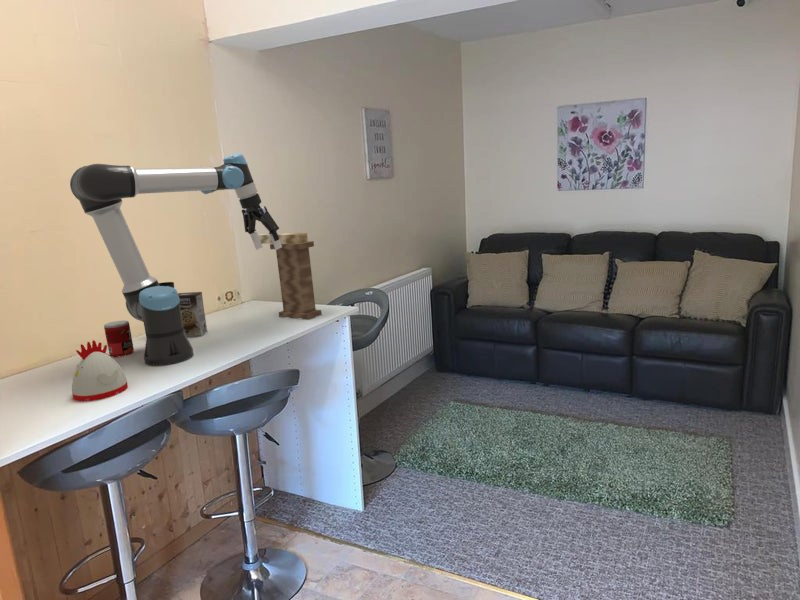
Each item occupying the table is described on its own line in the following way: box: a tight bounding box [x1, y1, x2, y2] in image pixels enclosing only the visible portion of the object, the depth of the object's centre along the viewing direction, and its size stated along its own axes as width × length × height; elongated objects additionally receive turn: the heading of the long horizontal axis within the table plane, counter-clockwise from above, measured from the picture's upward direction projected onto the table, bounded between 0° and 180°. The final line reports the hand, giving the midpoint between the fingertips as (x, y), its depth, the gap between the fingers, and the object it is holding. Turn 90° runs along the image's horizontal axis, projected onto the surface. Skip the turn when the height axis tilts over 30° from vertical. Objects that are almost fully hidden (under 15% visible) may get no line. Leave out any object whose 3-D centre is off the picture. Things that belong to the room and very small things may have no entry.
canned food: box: [103, 320, 135, 358], centre depth 202 cm, size 8×8×11 cm
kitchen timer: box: [71, 339, 128, 402], centre depth 163 cm, size 14×14×15 cm
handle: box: [258, 232, 309, 245], centre depth 235 cm, size 24×6×4 cm, turn 58°
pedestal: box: [269, 240, 322, 320], centre depth 235 cm, size 16×8×30 cm, turn 58°
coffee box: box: [178, 291, 208, 338], centre depth 219 cm, size 9×6×16 cm
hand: (269, 248), depth 225 cm, fingers open, 13 cm apart
